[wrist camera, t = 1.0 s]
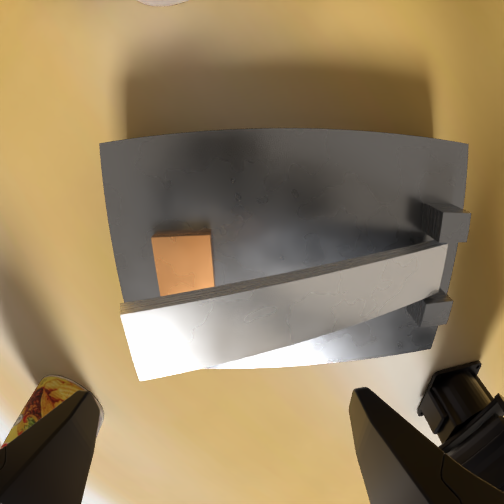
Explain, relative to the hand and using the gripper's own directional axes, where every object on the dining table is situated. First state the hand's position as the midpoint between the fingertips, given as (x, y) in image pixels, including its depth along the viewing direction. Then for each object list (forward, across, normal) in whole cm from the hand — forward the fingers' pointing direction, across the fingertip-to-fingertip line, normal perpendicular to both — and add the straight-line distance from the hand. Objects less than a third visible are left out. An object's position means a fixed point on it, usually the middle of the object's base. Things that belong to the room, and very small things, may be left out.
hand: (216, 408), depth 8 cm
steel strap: (+6, -4, 0) cm, 7 cm away
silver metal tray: (+13, -4, 0) cm, 14 cm away
